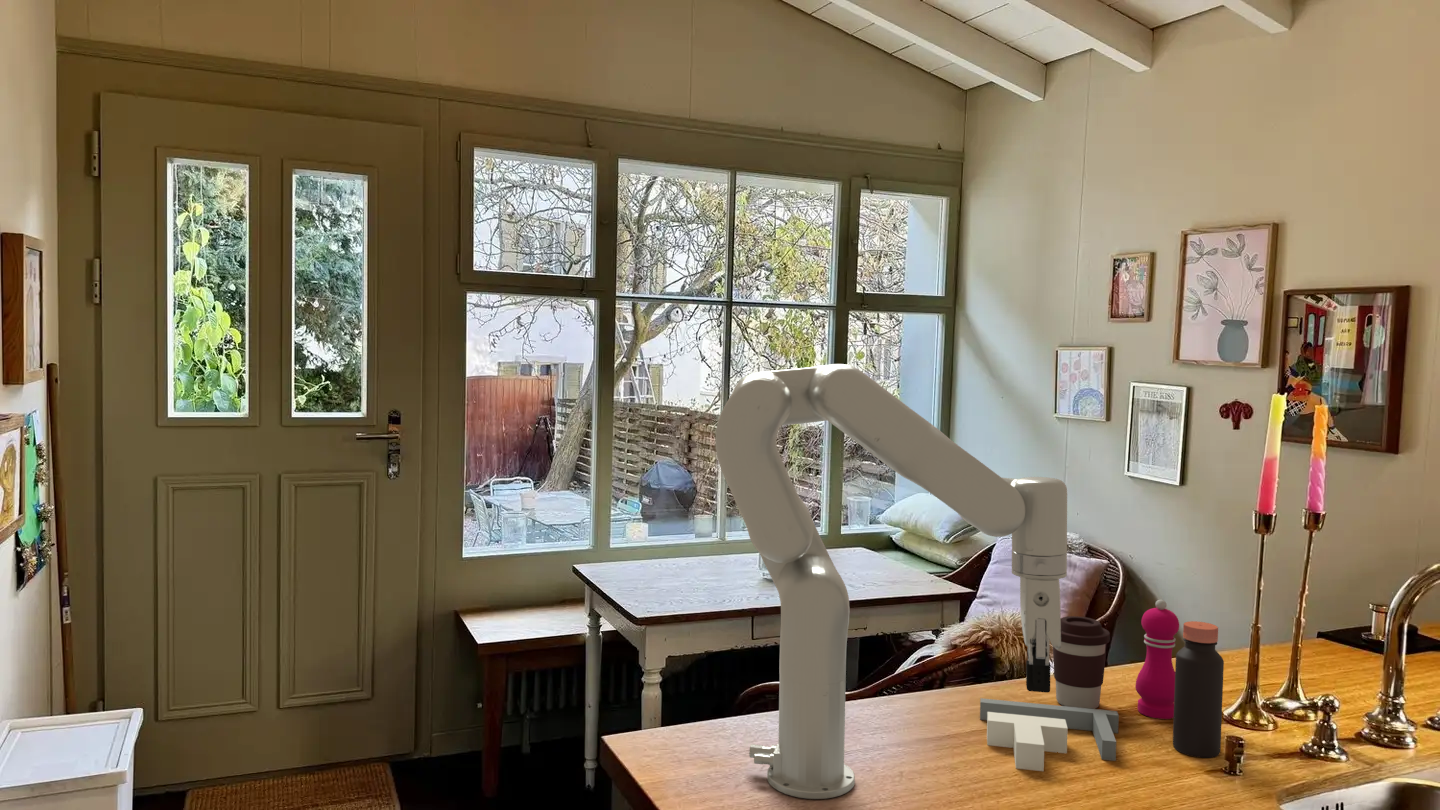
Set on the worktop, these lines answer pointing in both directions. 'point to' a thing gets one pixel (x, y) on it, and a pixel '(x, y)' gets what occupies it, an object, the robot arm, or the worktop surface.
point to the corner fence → (1075, 718)
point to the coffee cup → (1080, 662)
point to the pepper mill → (1158, 663)
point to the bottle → (1198, 692)
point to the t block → (1027, 737)
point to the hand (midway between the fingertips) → (1038, 689)
